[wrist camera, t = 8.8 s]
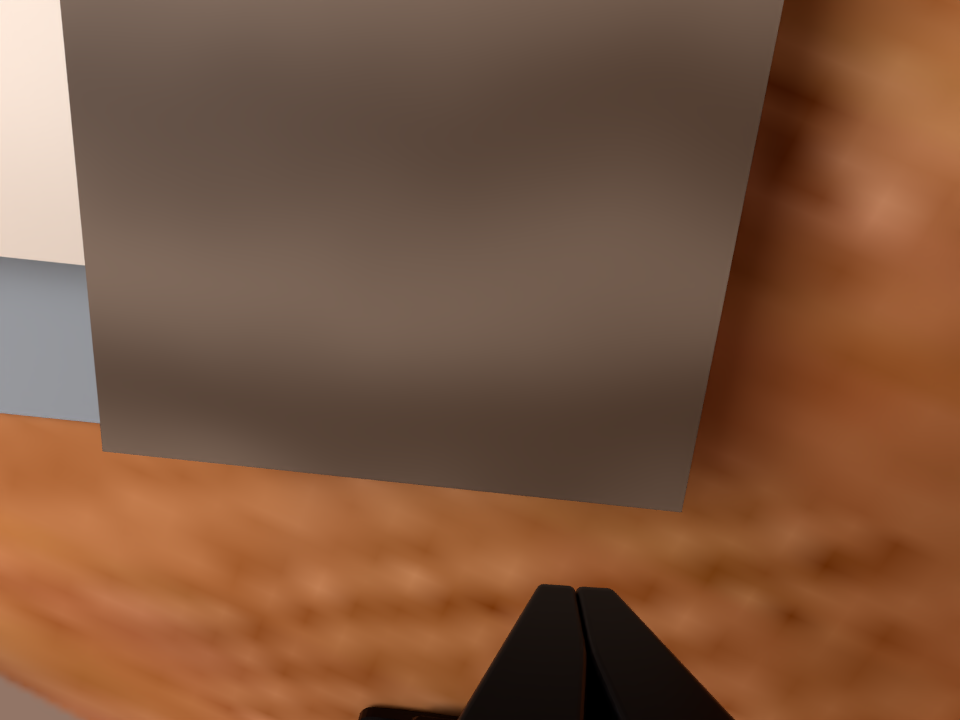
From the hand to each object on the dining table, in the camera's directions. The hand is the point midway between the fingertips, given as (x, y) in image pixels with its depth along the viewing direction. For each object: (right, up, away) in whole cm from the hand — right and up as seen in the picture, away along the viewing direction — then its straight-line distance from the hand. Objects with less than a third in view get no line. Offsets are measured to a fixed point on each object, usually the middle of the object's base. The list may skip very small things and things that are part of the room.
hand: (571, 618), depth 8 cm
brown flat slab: (-2, +9, +10) cm, 13 cm away
